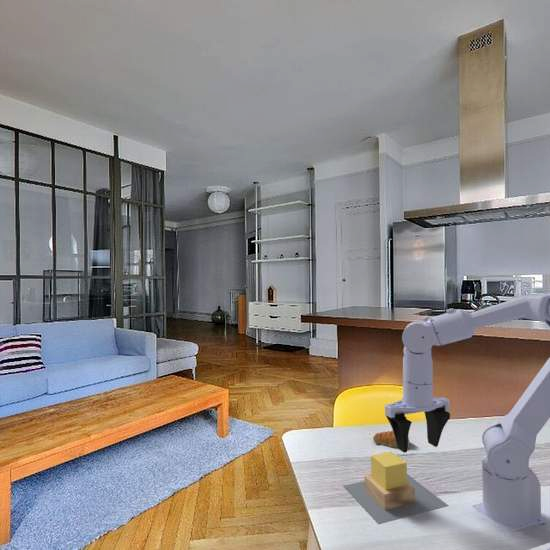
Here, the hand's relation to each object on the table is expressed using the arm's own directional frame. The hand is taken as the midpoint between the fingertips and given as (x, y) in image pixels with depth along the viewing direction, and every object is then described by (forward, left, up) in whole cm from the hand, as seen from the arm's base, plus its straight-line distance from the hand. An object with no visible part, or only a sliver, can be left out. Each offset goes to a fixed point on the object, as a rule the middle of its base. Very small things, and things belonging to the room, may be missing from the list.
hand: (417, 447), depth 76 cm
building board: (+5, -2, -10) cm, 12 cm away
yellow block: (+6, -2, -7) cm, 9 cm away
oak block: (+6, -2, -10) cm, 12 cm away
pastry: (-10, -22, -11) cm, 26 cm away
